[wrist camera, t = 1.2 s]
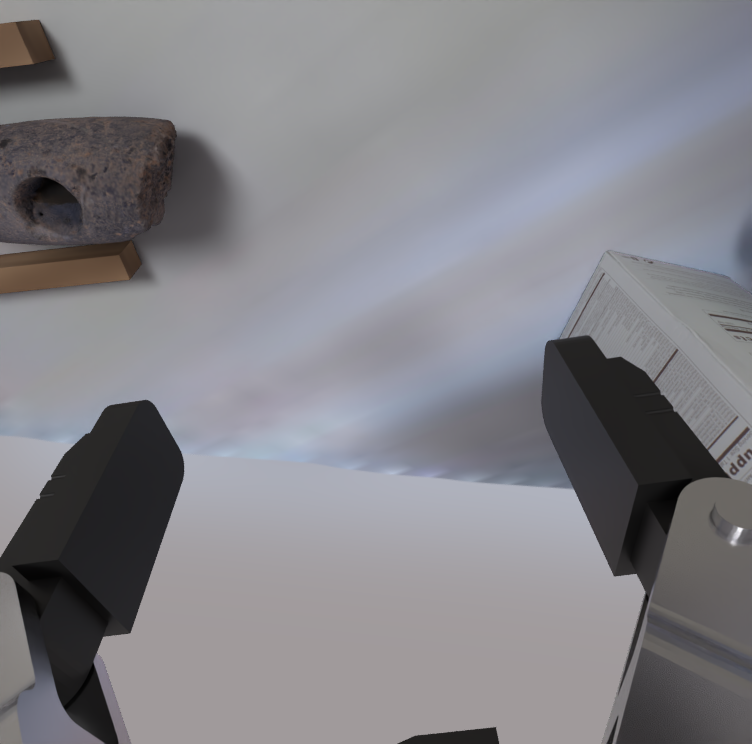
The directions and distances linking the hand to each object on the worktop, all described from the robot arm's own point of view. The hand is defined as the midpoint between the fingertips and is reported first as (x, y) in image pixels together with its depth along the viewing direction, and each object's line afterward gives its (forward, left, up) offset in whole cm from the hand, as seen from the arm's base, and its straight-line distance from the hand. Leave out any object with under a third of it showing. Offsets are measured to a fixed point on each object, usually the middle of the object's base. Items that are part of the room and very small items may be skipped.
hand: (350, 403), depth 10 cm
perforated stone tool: (-1, -15, -21) cm, 26 cm away
